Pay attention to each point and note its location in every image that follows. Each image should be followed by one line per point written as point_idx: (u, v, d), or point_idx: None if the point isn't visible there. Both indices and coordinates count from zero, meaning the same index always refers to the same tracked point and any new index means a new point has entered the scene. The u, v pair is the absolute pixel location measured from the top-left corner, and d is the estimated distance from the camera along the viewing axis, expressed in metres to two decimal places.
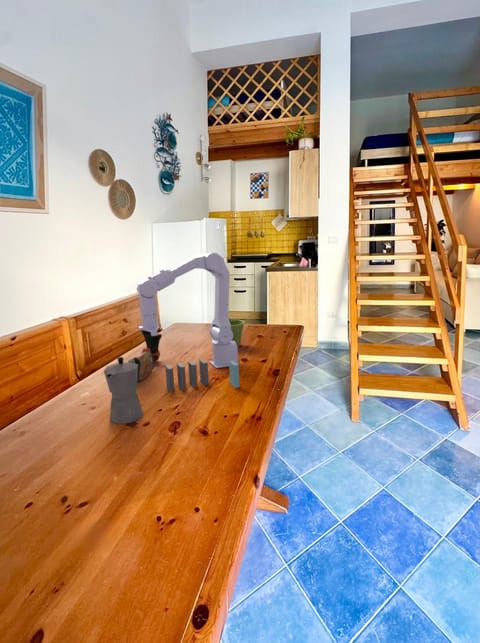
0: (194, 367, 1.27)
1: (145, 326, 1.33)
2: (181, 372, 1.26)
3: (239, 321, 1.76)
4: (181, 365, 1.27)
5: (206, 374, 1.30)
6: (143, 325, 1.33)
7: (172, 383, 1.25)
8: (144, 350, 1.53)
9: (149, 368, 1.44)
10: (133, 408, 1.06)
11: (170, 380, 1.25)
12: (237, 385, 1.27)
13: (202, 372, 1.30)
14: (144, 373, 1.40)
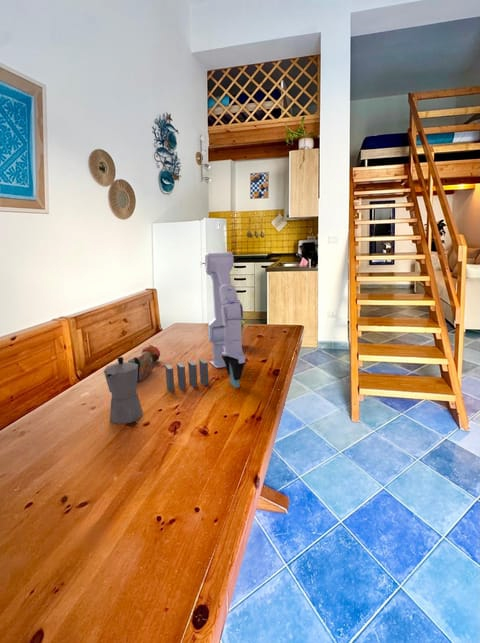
0: (194, 367, 1.27)
1: (230, 352, 1.24)
2: (181, 372, 1.26)
3: None
4: (181, 365, 1.27)
5: (206, 374, 1.30)
6: (227, 351, 1.24)
7: (172, 383, 1.25)
8: (144, 350, 1.53)
9: (149, 368, 1.44)
10: (133, 408, 1.06)
11: (170, 380, 1.25)
12: (237, 385, 1.27)
13: (202, 372, 1.30)
14: (144, 373, 1.40)
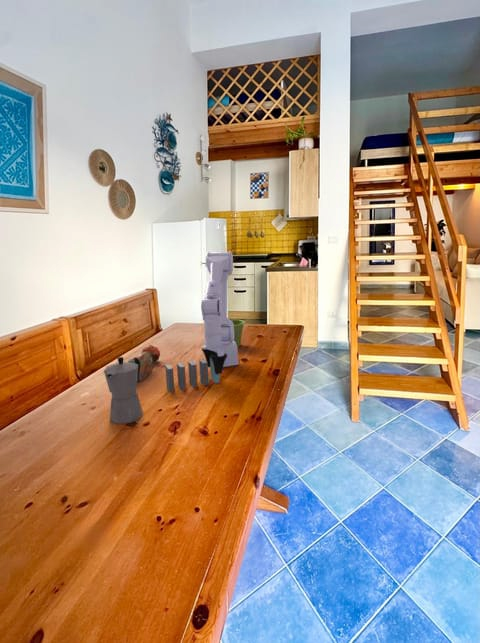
0: (194, 367, 1.27)
1: (210, 346, 1.28)
2: (181, 372, 1.26)
3: (239, 321, 1.76)
4: (181, 365, 1.27)
5: (206, 374, 1.30)
6: (207, 344, 1.29)
7: (172, 383, 1.25)
8: (144, 350, 1.53)
9: (149, 368, 1.44)
10: (133, 408, 1.06)
11: (170, 380, 1.25)
12: (217, 380, 1.32)
13: (202, 372, 1.30)
14: (144, 373, 1.40)
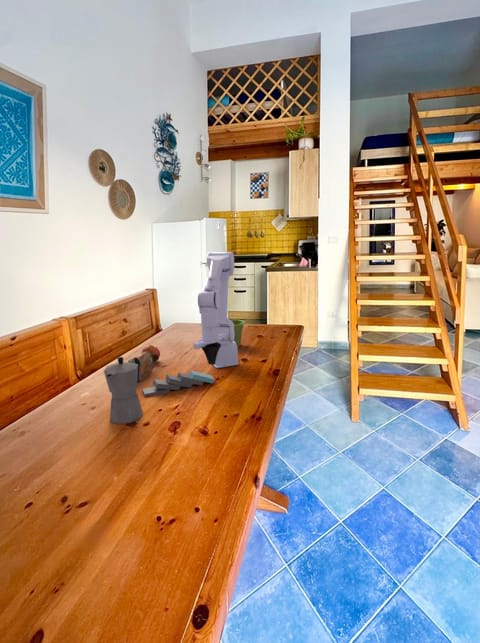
0: (172, 381, 1.25)
1: (202, 337, 1.30)
2: (162, 387, 1.24)
3: (239, 321, 1.76)
4: (155, 384, 1.24)
5: (192, 380, 1.28)
6: None
7: (160, 392, 1.24)
8: (144, 350, 1.53)
9: (149, 368, 1.44)
10: (133, 408, 1.06)
11: None
12: (212, 380, 1.31)
13: None
14: (144, 373, 1.40)
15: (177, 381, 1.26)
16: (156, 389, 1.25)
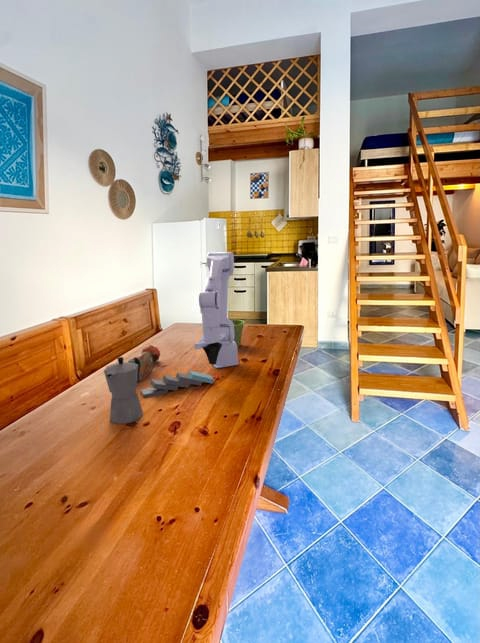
0: (170, 381, 1.25)
1: (203, 337, 1.30)
2: (159, 388, 1.23)
3: (239, 321, 1.76)
4: (153, 384, 1.23)
5: (191, 381, 1.28)
6: None
7: (159, 392, 1.24)
8: (144, 350, 1.53)
9: (149, 368, 1.44)
10: (133, 408, 1.06)
11: None
12: (211, 380, 1.31)
13: None
14: (144, 373, 1.40)
15: (175, 381, 1.25)
16: (155, 389, 1.25)
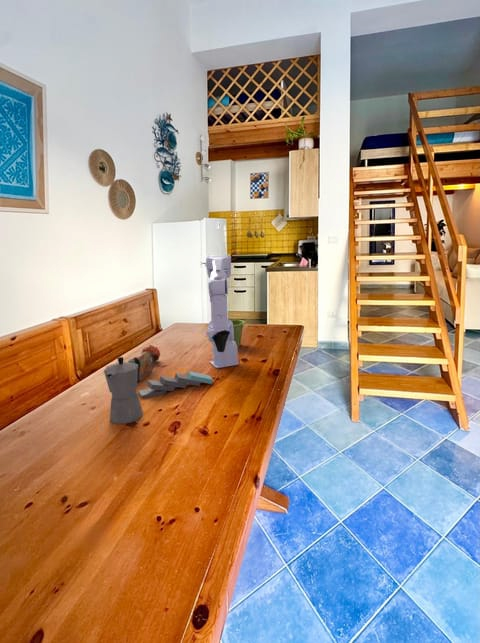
0: (167, 382, 1.24)
1: (212, 325, 1.31)
2: (157, 388, 1.22)
3: (239, 321, 1.76)
4: (150, 385, 1.22)
5: (189, 381, 1.28)
6: None
7: (157, 393, 1.23)
8: (144, 350, 1.53)
9: (149, 368, 1.44)
10: (133, 408, 1.06)
11: None
12: (210, 381, 1.31)
13: None
14: (144, 373, 1.40)
15: (172, 382, 1.25)
16: (152, 390, 1.24)
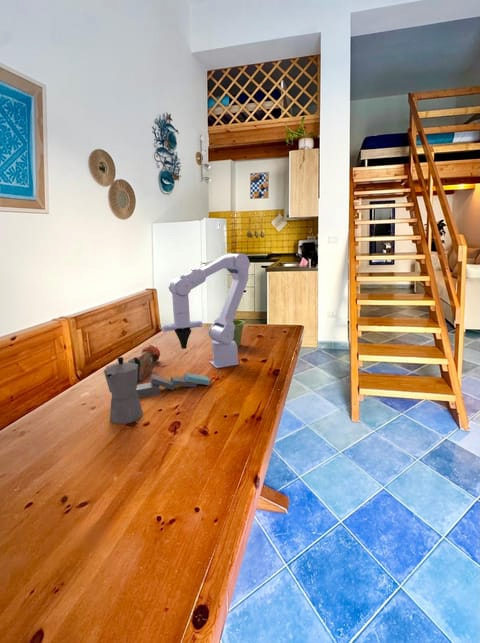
0: (154, 381, 1.24)
1: None
2: (140, 392, 1.22)
3: (239, 321, 1.76)
4: None
5: (185, 383, 1.27)
6: None
7: (152, 393, 1.23)
8: (144, 350, 1.53)
9: (149, 368, 1.44)
10: (133, 408, 1.06)
11: None
12: (207, 382, 1.30)
13: None
14: (144, 373, 1.40)
15: (160, 382, 1.24)
16: None
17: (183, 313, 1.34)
